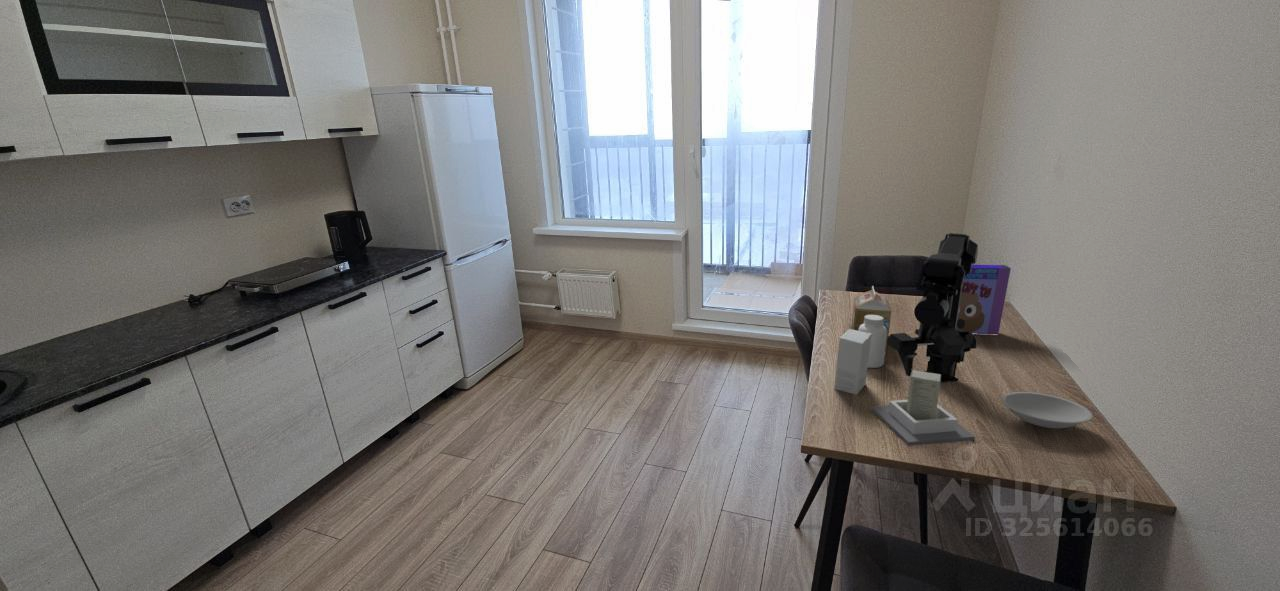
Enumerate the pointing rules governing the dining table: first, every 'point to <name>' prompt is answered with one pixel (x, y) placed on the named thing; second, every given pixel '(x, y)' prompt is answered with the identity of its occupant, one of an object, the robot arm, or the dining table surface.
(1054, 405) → the dish
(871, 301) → the milk carton
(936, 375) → the skincare box
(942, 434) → the socket stand
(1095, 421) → the dining table surface
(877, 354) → the pill bottle
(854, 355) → the skincare box
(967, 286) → the cereal box
